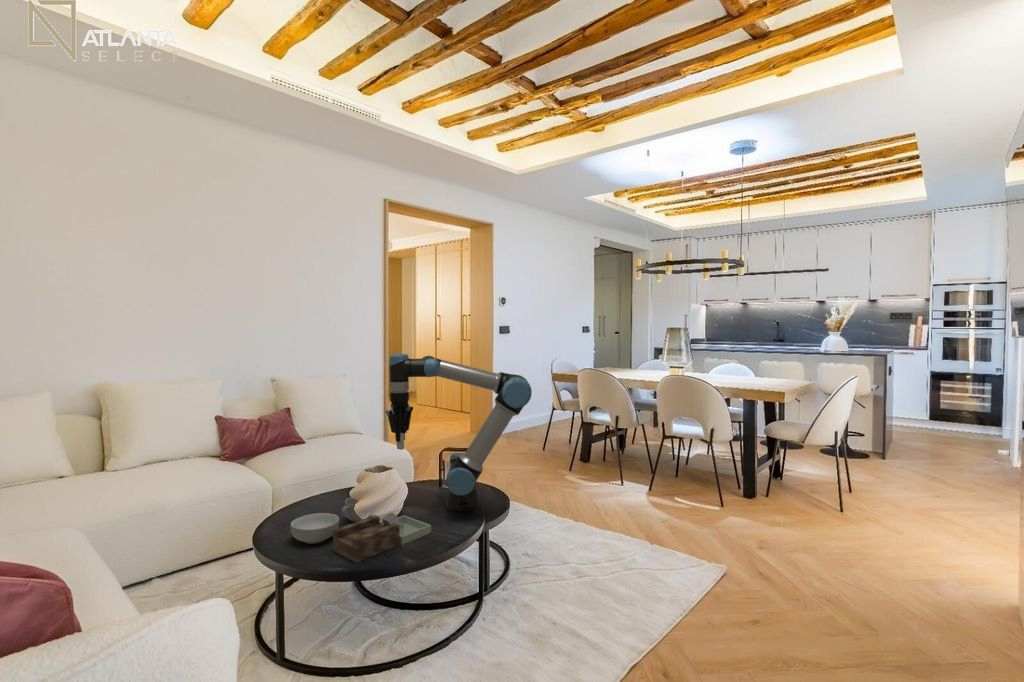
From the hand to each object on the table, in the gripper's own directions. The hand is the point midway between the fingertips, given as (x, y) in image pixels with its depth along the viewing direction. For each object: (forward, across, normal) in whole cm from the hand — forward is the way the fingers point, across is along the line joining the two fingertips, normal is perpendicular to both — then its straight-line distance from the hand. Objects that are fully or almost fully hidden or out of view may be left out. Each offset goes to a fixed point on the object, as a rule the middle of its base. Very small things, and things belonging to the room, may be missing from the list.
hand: (400, 448), depth 212 cm
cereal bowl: (+28, +34, -9) cm, 45 cm away
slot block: (+28, +27, +12) cm, 41 cm away
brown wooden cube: (+24, +16, +12) cm, 31 cm away
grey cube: (+26, +16, +12) cm, 33 cm away
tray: (+29, +10, +13) cm, 33 cm away
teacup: (+29, +13, -13) cm, 34 cm away
